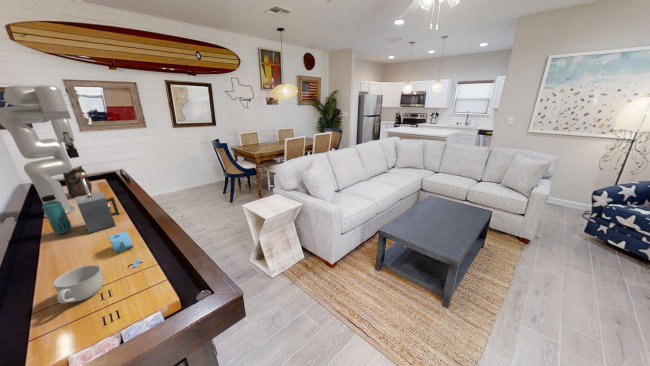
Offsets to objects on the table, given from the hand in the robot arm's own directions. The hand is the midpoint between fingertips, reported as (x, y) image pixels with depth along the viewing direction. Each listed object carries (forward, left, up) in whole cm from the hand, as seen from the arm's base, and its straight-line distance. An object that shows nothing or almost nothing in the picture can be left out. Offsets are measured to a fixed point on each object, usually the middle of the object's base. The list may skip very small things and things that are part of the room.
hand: (73, 156), depth 109 cm
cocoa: (-20, +4, -38) cm, 43 cm away
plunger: (0, 0, -26) cm, 26 cm away
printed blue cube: (+35, +3, -38) cm, 51 cm away
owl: (-74, -2, -38) cm, 83 cm away
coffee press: (0, +2, -37) cm, 37 cm away
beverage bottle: (-7, -13, -38) cm, 40 cm away
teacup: (+58, -12, -38) cm, 70 cm away
